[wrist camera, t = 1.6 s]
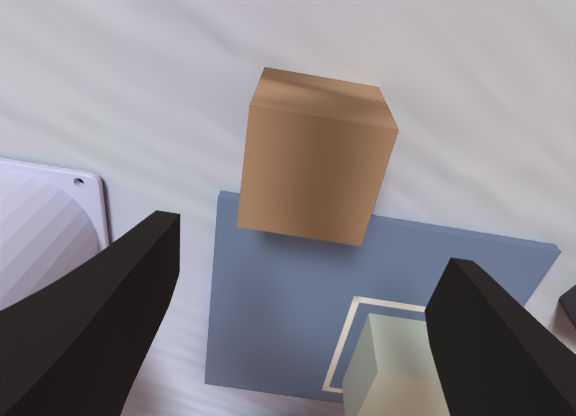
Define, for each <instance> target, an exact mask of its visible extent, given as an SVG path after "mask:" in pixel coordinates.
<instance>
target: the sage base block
mask: <svg viewBox="0 0 576 416" xmlns="http://www.w3.org/2000/svg"><path fill="white" fill-rule="evenodd" d="M342 388H343V402H344V416H450V414H449V410H448V407H447V404H446V400H445V397H444V394H443V390H442V387H441V384H440V380H439V377H438V374H437V370H436V367H435V363H434V360H433V356H432V353H431V349H430V345H429V339H428V333H427V327H426V322H425V321H418V320H412V319H405V318H398V317H392V316H385V315H379V314H372V313H369V314H368V316H367V319H366V321H365V324H364V327H363V329H362V332H361V334H360V337H359V340H358V342H357V345H356V347H355V350H354V352H353V355H352V358H351V360H350V363H349V365H348V368H347V371H346V373H345V376H344V378H343V381H342Z"/></svg>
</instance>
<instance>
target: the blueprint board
mask: <svg viewBox="0 0 576 416" xmlns="http://www.w3.org/2000/svg"><path fill="white" fill-rule="evenodd" d="M239 200H240V194H238V193H232V192H226V191H220V193H219V195H218V204H217V218H216V232H215V246H214V259H213V273H212V287H211V301H210V315H209V329H208V343H207V357H206V371H205V384H209V385H216V386H223V387H231V388H238V389H245V390H252V391H259V392H266V393H273V394H280V395H287V396H294V397H301V398H308V399H315V400H322V401H329V402H337V403H344V402H343V388H342V381H343V378H344V376H345V373H346V371H347V368H348V365H349V363H350V360H351V358H352V355H353V352H354V350H355V347H356V345H357V342H358V340H359V337H360V334H361V332H362V329H363V327H364V324H365V321H366V319H367V316H368V314H369V313H372V314H379V315H385V316H392V317H398V318H405V319H412V320H418V321H425V322H426V319H425V312H424V310H425V308H426V306H427V304H428V302H429V300H430V298H431V296H432V294H433V292H434V290H435V288H436V286H437V284H438V282H439V280H440V278H441V276H442V274H443V272H444V270H445V268H446V266H447V264H448V262H449V260H450V258H451V257H453V258H459V259H465V260H472V261H474V262H475V263H476V264H478V265H479V266H480V267H481V268H482V269H483V270H484V271H486V272H487V273H488V274H489V275H490V276H491V277H492V278H493V279H494V280H495V281H496V282H497V283H498V284H499V285H500V286H502V287H503V288H504V289H505V290H506V291H507V292H508V293H509V294H510V295H511V296H512V297H513V298H514V299H515V300H516V301H517V302H518V303H519V304H520V305H521V306H522V307H524V306H525V304H526V303H527V301H528V300H529V298H530V297H531V295H532V294H533V293H534V291H535V290H536V288H537V287H538V285H539V284H540V282H541V281H542V279H543V278H544V276H545V275H546V274H547V272H548V271H549V269H550V268H551V266H552V265H553V263H554V262H555V260H556V259H557V257H558V256H559V255H560V253H561V251H560V250H559V248H558V247H557V246H556V245H554V244H548V243H542V242H536V241H529V240H523V239H517V238H511V237H505V236H498V235H492V234H486V233H480V232H474V231H468V230H461V229H455V228H449V227H443V226H437V225H430V224H424V223H418V222H412V221H406V220H399V219H393V218H387V217H381V216H375V215H371V217H370V220H369V223H368V226H367V229H366V232H365V235H364V238H363V241H362V244H361V246H355V245H349V244H343V243H336V242H330V241H324V240H317V239H311V238H305V237H298V236H292V235H286V234H279V233H273V232H267V231H260V230H254V229H248V228H241V227H237V219H238V210H239Z"/></svg>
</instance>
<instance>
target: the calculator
mask: <svg viewBox="0 0 576 416" xmlns="http://www.w3.org/2000/svg"><path fill="white" fill-rule="evenodd" d="M559 303H560V304H561V306H562V308H563V309H564V311H565V313H566V314H567V316H568V317H569V319H570V321H571V322H572V324H573V326H574V327H575V329H576V285H575V286H574V287H572V288H571V289H570V290H568V291H567V292H566V293H564V294H563V295H562V296H561V297H560V298H559Z"/></svg>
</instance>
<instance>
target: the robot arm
mask: <svg viewBox="0 0 576 416" xmlns="http://www.w3.org/2000/svg"><path fill="white" fill-rule="evenodd" d="M78 178H79V179H81V180H83V182H84V183H81V182H80V181H79V180H78ZM179 271H180V214H176V213H170V212H164V211H158V210H157V211H155V212H154V213H152V214H151V215H149V216H148V217H147V218H145V219H144V220H143V221H141V222H140V223H139V224H137V225H136V226H135V227H134V228H132V229H131V230H130V231H128V232H127V233H126V234H124V235H123V236H122V237H120V238H119V239H118V240H116V241H115V242H113V243H112V244H111V245H109V240H108V231H107V222H106V213H105V204H104V196H103V187H102V181H101V179H100V177H99V176H98V175H96V174H95V173H91V172H86V171H79V170H73V169H67V168H61V167H55V166H48V165H42V164H36V163H30V162H24V161H17V160H11V159H5V158H0V416H120V415H121V412H122V409H123V407H124V404H125V401H126V399H127V396H128V394H129V392H130V389H131V387H132V384H133V382H134V380H135V378H136V376H137V374H138V371H139V369H140V367H141V365H142V363H143V361H144V359H145V357H146V354H147V352H148V350H149V348H150V346H151V344H152V342H153V339H154V337H155V335H156V333H157V331H158V329H159V327H160V324H161V322H162V320H163V318H164V316H165V314H166V311H167V309H168V307H169V304H170V301H171V298H172V295H173V292H174V289H175V286H176V282H177V279H178V276H179ZM424 312H425V319H426V327H427V333H428V339H429V345H430V349H431V353H432V356H433V360H434V363H435V367H436V370H437V374H438V377H439V380H440V384H441V387H442V390H443V394H444V397H445V400H446V404H447V407H448V410H449V414H450V416H576V354H574V353H573V352H572V351H571V350H570V349H569V348H567V347H566V346H565V345H564V344H563V343H562V342H560V341H559V340H558V339H557V338H556V337H555V336H554V335H553V334H551V333H550V332H549V331H548V330H547V329H546V328H545V327H544V326H543V325H542V324H541V323H539V322H538V321H537V320H536V319H535V318H534V317H533V316H532V315H531V314H530V313H529V312H528V311H527V310H526V309H524V308H523V307H522V306H521V305H520V304H519V303H518V302H517V301H516V300H515V299H514V298H513V297H512V296H511V295H510V294H509V293H508V292H507V291H506V290H505V289H504V288H503V287H502V286H500V285H499V284H498V283H497V282H496V281H495V280H494V279H493V278H492V277H491V276H490V275H489V274H488V273H487V272H486V271H484V270H483V269H482V268H481V267H480V266H479V265H478V264H476V263H475V262H474V261H472V260H465V259H459V258H453V257H451V258H450V260H449V262H448V264H447V266H446V268H445V270H444V272H443V274H442V276H441V278H440V280H439V282H438V284H437V286H436V288H435V290H434V292H433V294H432V296H431V298H430V300H429V302H428V304H427V306H426V308H425V310H424Z"/></svg>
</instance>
